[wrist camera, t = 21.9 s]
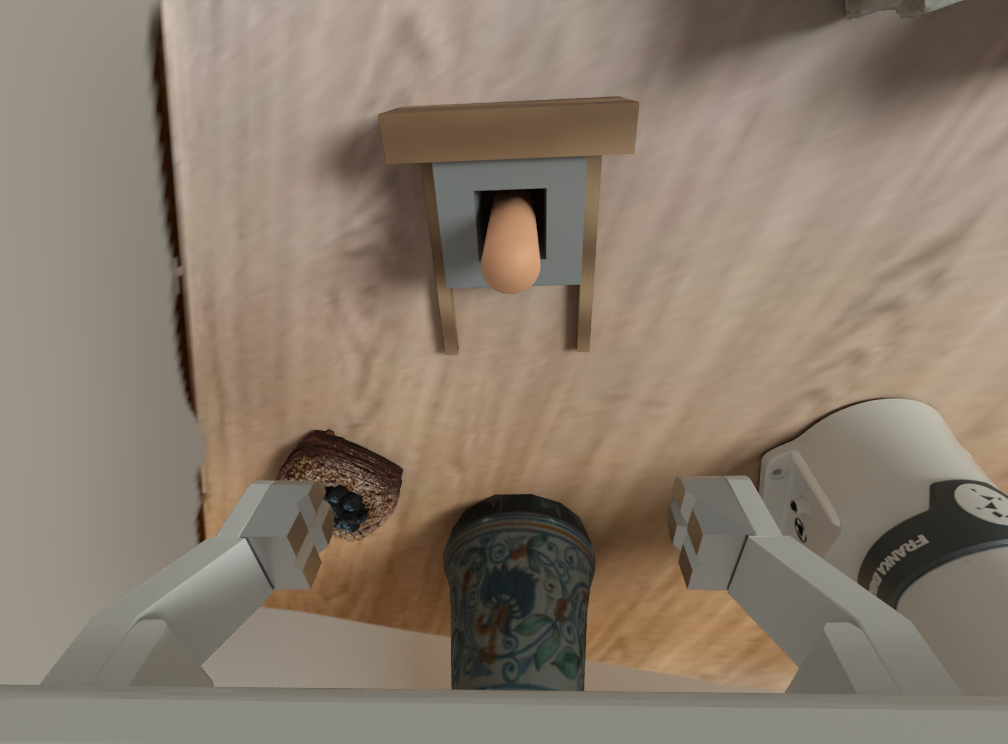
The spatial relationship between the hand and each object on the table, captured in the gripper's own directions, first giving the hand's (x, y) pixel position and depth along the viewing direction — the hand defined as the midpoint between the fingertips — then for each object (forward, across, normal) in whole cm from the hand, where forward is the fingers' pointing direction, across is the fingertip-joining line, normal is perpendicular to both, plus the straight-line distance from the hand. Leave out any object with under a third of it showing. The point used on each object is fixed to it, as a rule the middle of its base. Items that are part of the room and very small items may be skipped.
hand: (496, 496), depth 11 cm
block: (+27, 0, 0) cm, 27 cm away
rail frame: (+27, 0, +3) cm, 27 cm away
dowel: (+27, 0, 0) cm, 27 cm away
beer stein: (+27, 0, +39) cm, 47 cm away
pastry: (+28, +18, +27) cm, 43 cm away
